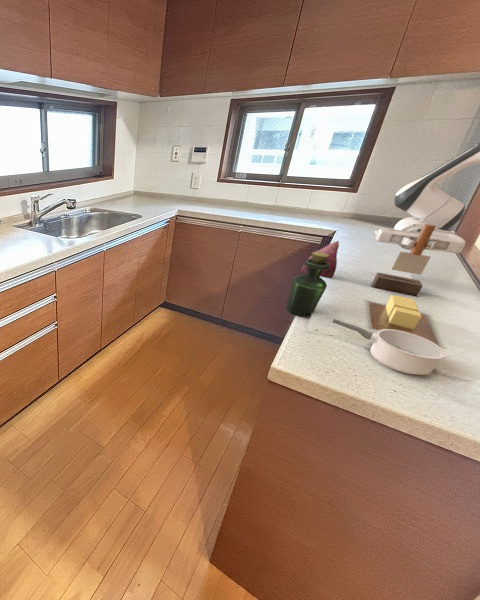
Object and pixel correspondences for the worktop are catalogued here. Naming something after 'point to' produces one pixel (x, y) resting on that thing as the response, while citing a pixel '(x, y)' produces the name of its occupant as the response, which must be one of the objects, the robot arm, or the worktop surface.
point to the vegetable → (327, 260)
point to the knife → (415, 254)
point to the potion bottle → (308, 287)
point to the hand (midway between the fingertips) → (420, 245)
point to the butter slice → (404, 317)
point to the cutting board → (382, 322)
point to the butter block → (400, 304)
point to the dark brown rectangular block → (397, 284)
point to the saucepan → (398, 358)
